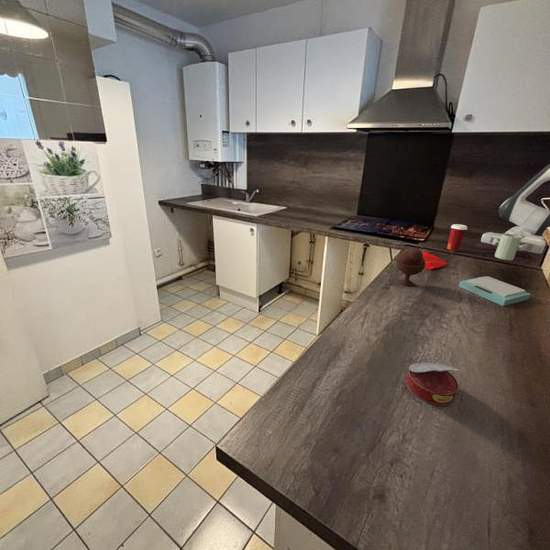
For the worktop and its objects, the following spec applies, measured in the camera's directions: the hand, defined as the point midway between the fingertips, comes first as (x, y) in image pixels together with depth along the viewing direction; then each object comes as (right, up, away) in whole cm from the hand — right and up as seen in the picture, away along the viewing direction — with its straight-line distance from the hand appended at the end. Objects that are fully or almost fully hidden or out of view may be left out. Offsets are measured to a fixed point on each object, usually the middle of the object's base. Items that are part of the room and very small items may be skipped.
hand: (507, 245), depth 112 cm
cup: (0, -4, +3) cm, 5 cm away
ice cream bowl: (-37, -15, +6) cm, 40 cm away
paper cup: (+9, +2, +49) cm, 50 cm away
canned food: (-55, -37, -46) cm, 81 cm away
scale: (-6, -18, 0) cm, 19 cm away
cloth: (-13, -5, +31) cm, 34 cm away
